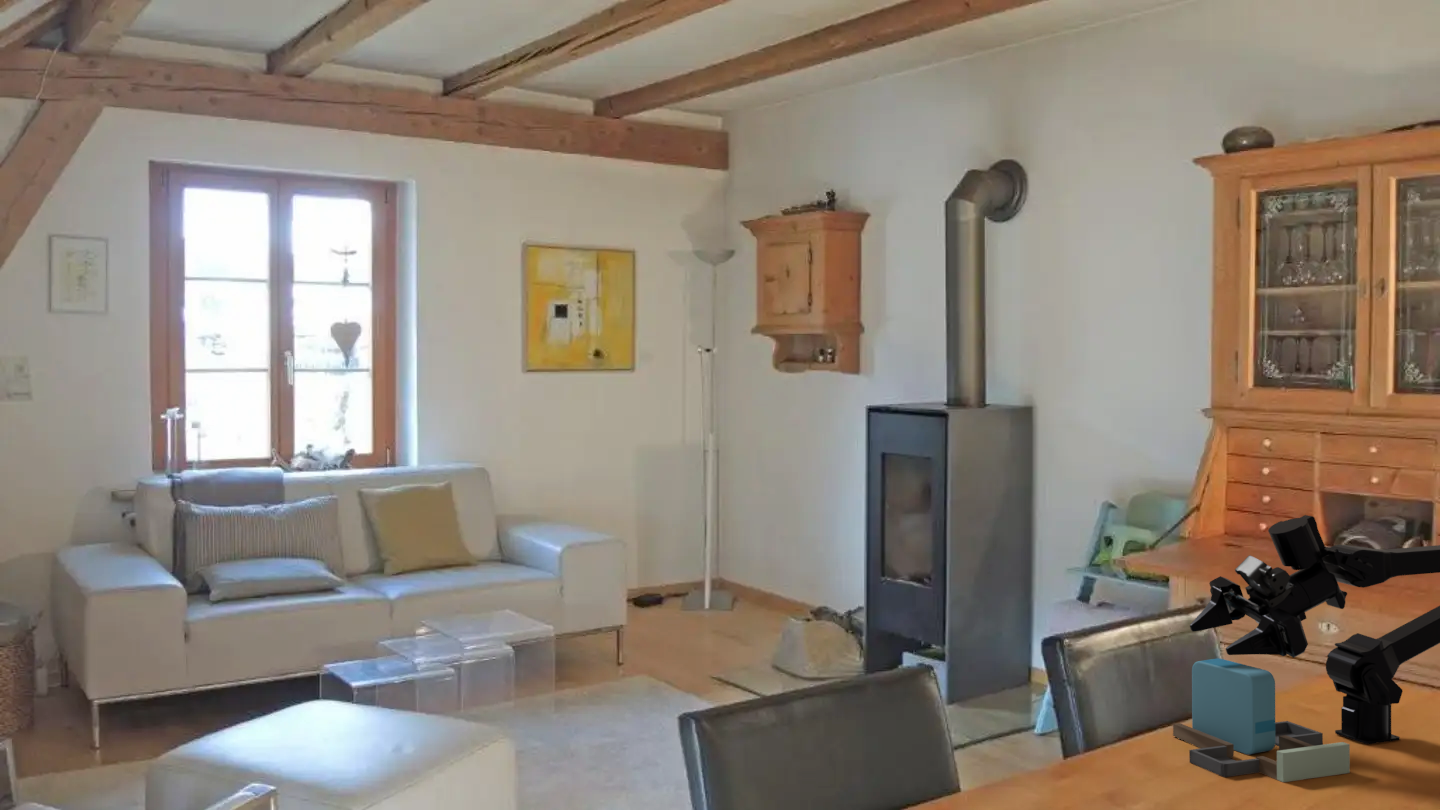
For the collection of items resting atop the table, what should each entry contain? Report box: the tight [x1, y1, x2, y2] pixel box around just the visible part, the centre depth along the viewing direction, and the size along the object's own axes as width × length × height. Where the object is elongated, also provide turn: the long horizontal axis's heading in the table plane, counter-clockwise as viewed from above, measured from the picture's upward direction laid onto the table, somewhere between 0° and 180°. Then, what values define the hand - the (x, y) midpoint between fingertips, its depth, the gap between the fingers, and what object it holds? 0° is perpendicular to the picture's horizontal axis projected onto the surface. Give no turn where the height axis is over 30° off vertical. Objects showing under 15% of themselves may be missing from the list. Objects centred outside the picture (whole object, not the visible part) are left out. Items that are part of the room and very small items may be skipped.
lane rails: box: [1172, 722, 1314, 780], centre depth 187 cm, size 11×22×2 cm, turn 18°
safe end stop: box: [1276, 741, 1351, 783], centre depth 176 cm, size 11×1×4 cm, turn 108°
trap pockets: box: [1188, 720, 1324, 778], centre depth 187 cm, size 24×14×2 cm, turn 108°
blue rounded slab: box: [1191, 657, 1276, 756], centre depth 191 cm, size 12×4×12 cm, turn 25°
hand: (1208, 639), depth 190 cm, fingers open, 9 cm apart
